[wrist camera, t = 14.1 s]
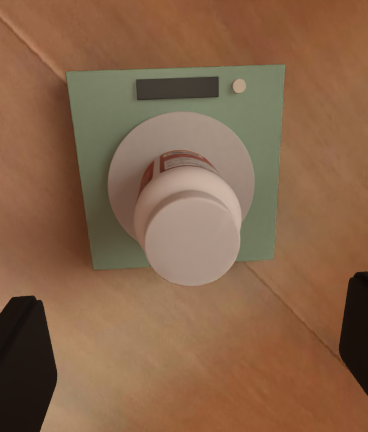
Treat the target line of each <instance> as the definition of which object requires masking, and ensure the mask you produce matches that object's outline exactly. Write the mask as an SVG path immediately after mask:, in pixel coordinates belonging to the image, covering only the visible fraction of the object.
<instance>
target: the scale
mask: <svg viewBox="0 0 368 432" xmlns="http://www.w3.org/2000/svg"><path fill="white" fill-rule="evenodd" d="M284 75H285V65H284V64H278V65H247V66H217V67H187V68H156V69H126V70H96V71H67V72H66V80H67V87H68V94H69V101H70V108H71V116H72V123H73V130H74V137H75V144H76V151H77V158H78V166H79V173H80V180H81V187H82V194H83V201H84V208H85V216H86V223H87V230H88V237H89V244H90V251H91V258H92V266H93V270H109V269H125V268H142V267H151V266H150V264H149V262H148V260H147V258H146V255H145V252H144V250H143V249H142V248H141V246H140V244H139V242H138V240H137V237H136V234H135V230H134V211H135V205H136V201H137V197H138V193H139V189H140V184H141V180H142V177H143V174H144V172H145V171H146V169H147V167H148V166H149V165H150V163H151V162H152V161H153V160H154V159H156V158H157V157H158V156H160V155H162V154H163V153H166V152H169V151H173V150H189V151H192V152H195V153H198V154H200V155H201V156H203V157H204V158H206V159H207V160H208V161H209V162H210V163H211V164H212V165H213V166H214V168H215V169H216V170H217V171H218V172H219V174H220V175H221V176H222V177H223V179H224V180H225V181H226V182H227V183H228V185H229V186H230V187H231V189H232V190H233V191H234V193H235V195H236V197H237V199H238V201H239V204H240V208H241V217H242V221H241V229H240V249H239V252H238V255H237V258H236V260H235V262H242V261H259V260H273V259H274V245H275V228H276V211H277V194H278V177H279V160H280V143H281V126H282V109H283V92H284Z"/></svg>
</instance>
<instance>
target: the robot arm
mask: <svg viewBox="0 0 368 432" xmlns="http://www.w3.org/2000/svg"><path fill="white" fill-rule="evenodd" d="M339 353H340V356H341V358H342V360H343V362H344V363H345V364H346V366H347V367H348V369H349V370H350V371H351V373H352V374H353V376H354V377H355V379H356V380H357V381H358V383H359V384H360V386H361V387H362V388H363V390H364V391H365V393H366V394H367V395H368V272H357V273H355V275H354V277H352V278H350V280H349V284H348V290H347V297H346V304H345V310H344V317H343V324H342V330H341V337H340V344H339ZM56 383H57V369H56V364H55V359H54V355H53V350H52V345H51V340H50V335H49V330H48V326H47V321H46V316H45V311H44V306H43V302H42V301H41V300H36V298H35V296H20V297H12V298H11V299H10V301H9V302H8V303H7V305H6V306H5V308H4V309H3V310H2V312H1V313H0V432H40V430H41V427H42V424H43V421H44V418H45V415H46V412H47V410H48V407H49V404H50V401H51V398H52V395H53V392H54V389H55V387H56Z"/></svg>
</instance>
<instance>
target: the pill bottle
mask: <svg viewBox="0 0 368 432" xmlns="http://www.w3.org/2000/svg"><path fill="white" fill-rule="evenodd" d="M241 221H242V217H241V208H240V204H239V201H238V199H237V197H236V195H235V193H234V191H233V190H232V189H231V187H230V186H229V185H228V183H227V182H226V181H225V180H224V179H223V177H222V176H221V175H220V174H219V172H218V171H217V170H216V169H215V168H214V166H213V165H212V164H211V163H210V162H209V161H208V160H207V159H206V158H204V157H203V156H201V155H200V154H198V153H195V152H192V151H189V150H173V151H169V152H166V153H163V154H162V155H160V156H158V157H157V158H156V159H154V160H153V161H152V162H151V163H150V165H149V166H148V167H147V169H146V171H145V172H144V174H143V177H142V180H141V184H140V189H139V193H138V197H137V201H136V205H135V211H134V230H135V234H136V237H137V240H138V242H139V244H140V246H141V248H142V249H143V250H144V252H145V255H146V258H147V260H148V262H149V264H150V266H151V267H152V269H153V270H154V271H155V272H156V273H157V274H158V275H159V276H160V277H162V278H163V279H165V280H167V281H168V282H170V283H173V284H177V285H181V286H200V285H205V284H208V283H210V282H213V281H215V280H217V279H218V278H220V277H221V276H223V275H224V274H225V273H226V272H227V271H228V270H229V269H230V268H231V266H232V265H233V263H234V262H235V260H236V258H237V255H238V252H239V249H240V229H241Z"/></svg>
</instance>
